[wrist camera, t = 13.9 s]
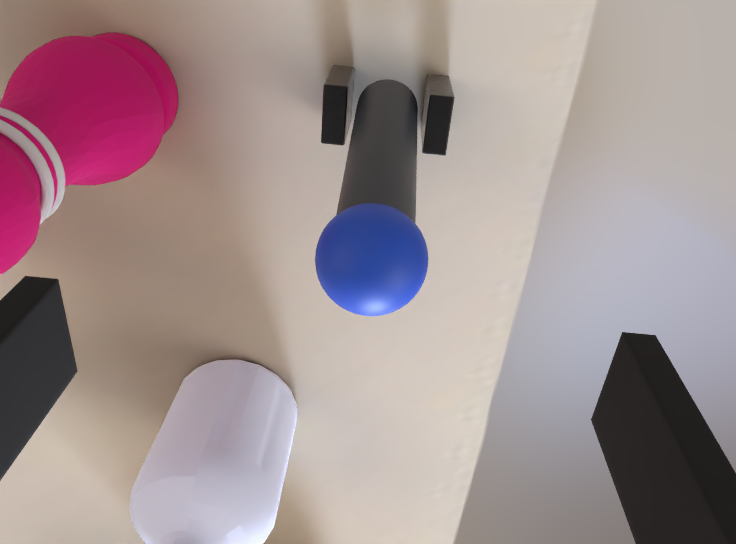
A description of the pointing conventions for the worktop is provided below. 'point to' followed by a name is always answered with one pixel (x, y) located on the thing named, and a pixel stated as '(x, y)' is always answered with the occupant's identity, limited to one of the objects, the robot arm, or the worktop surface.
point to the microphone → (376, 209)
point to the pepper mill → (76, 126)
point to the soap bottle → (217, 459)
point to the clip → (433, 116)
